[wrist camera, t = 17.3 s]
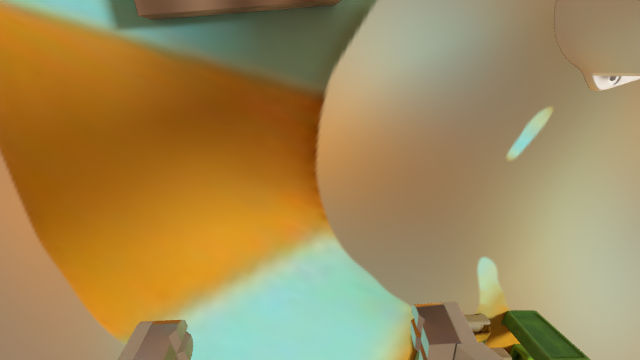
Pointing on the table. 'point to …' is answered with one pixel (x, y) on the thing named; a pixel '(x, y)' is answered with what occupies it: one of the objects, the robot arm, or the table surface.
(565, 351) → the dollhouse furniture set
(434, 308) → the robot arm
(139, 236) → the table surface
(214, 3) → the plinth
